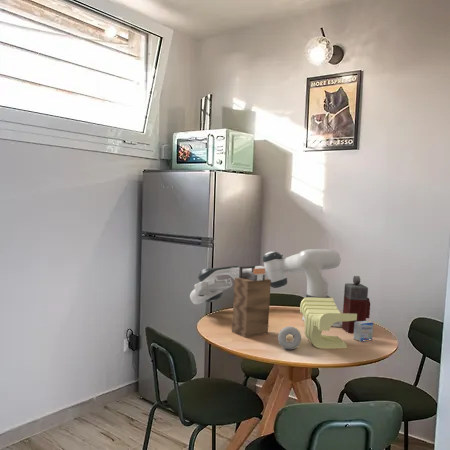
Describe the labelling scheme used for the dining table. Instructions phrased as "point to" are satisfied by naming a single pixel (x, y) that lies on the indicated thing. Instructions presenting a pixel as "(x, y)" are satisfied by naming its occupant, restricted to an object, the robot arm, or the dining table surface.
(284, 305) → the dining table surface
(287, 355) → the dining table surface
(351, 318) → the slatted curved stool
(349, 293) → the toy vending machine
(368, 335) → the medicine box
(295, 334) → the donut
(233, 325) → the stand
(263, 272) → the keeper bolt
